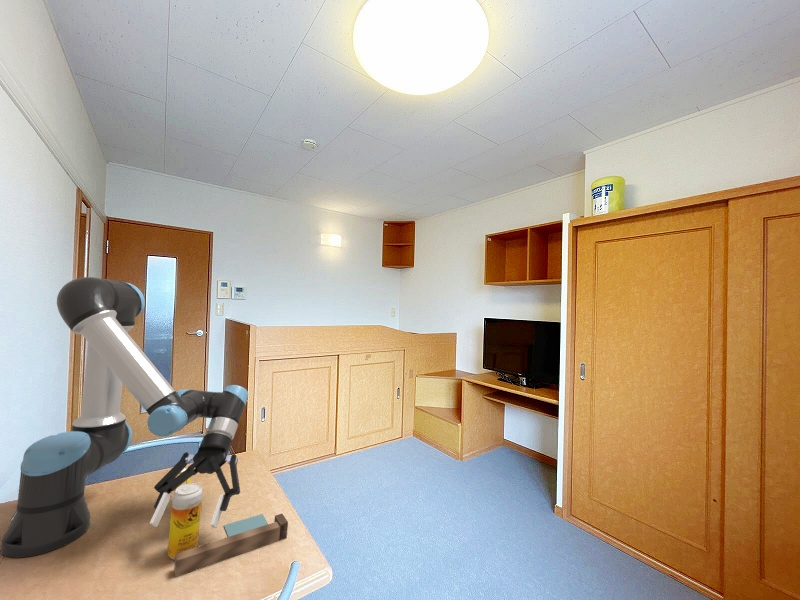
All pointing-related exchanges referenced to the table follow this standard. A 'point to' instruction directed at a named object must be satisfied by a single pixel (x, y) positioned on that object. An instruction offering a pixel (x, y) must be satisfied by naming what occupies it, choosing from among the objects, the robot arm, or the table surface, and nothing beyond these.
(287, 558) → the table surface
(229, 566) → the table surface
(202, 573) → the table surface
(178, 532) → the orange soda can
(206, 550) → the brown l-shaped hook tool
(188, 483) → the watch
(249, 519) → the pad
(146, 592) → the table surface
